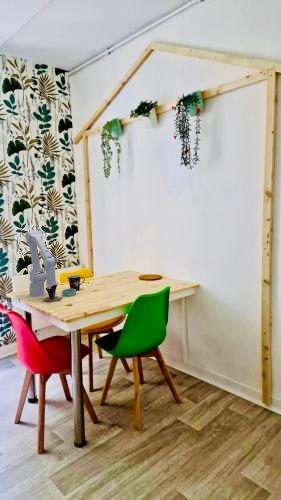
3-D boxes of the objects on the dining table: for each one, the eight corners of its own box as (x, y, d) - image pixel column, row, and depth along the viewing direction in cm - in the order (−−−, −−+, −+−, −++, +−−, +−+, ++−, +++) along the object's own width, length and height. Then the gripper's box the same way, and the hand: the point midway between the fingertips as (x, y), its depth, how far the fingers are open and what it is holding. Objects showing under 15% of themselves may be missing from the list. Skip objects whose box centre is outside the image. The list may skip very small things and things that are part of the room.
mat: (41, 302, 210) (41, 302, 210) (45, 298, 220) (45, 297, 220) (60, 301, 211) (60, 301, 211) (63, 297, 220) (63, 297, 220)
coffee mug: (68, 292, 235) (67, 278, 234) (69, 289, 244) (68, 275, 242) (85, 290, 237) (84, 276, 236) (85, 287, 246) (84, 274, 245)
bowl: (61, 297, 221) (60, 292, 220) (63, 294, 230) (63, 289, 229) (74, 296, 221) (74, 291, 221) (77, 293, 230) (76, 288, 230)
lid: (42, 302, 210) (41, 293, 210) (46, 297, 220) (46, 290, 220) (58, 301, 210) (58, 293, 210) (61, 297, 220) (61, 289, 220)
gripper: (54, 278, 206) (56, 299, 208) (59, 273, 221) (60, 294, 222) (42, 279, 206) (44, 300, 208) (48, 274, 221) (50, 294, 222)
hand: (52, 297), depth 215 cm, fingers open, 5 cm apart
